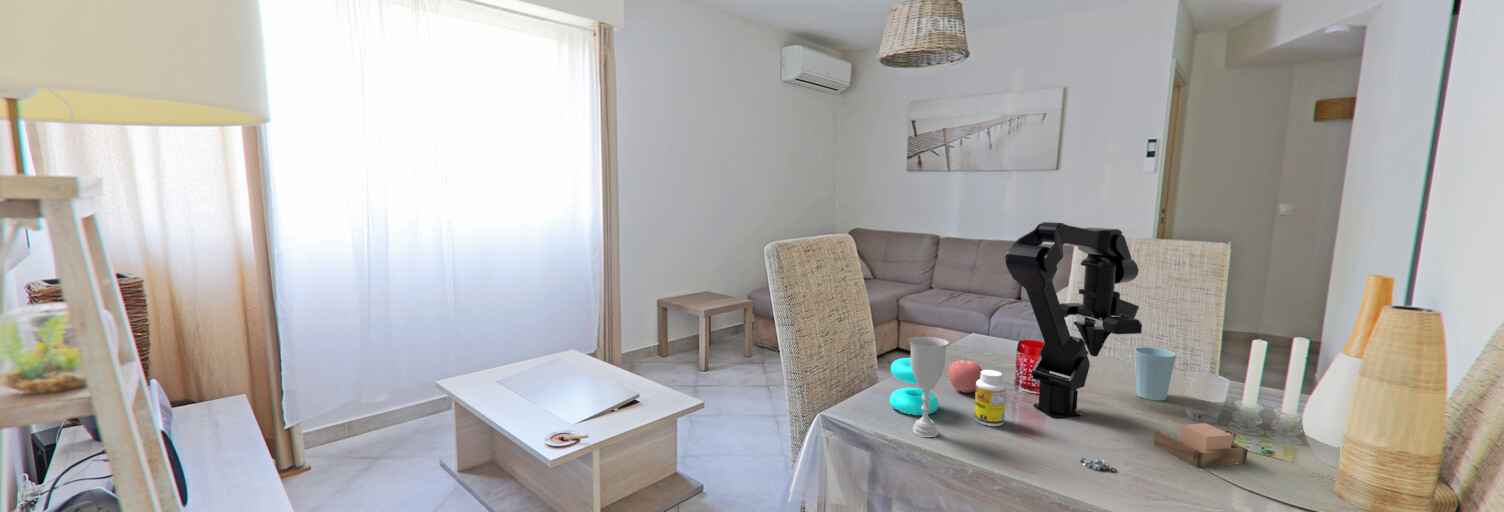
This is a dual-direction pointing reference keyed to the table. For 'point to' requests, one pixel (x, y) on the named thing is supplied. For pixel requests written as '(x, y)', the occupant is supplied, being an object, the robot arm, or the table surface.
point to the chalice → (927, 375)
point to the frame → (1201, 452)
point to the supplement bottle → (990, 398)
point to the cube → (1204, 437)
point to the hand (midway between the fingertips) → (1093, 356)
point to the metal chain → (1098, 465)
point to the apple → (964, 375)
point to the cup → (1153, 372)
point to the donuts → (909, 390)
